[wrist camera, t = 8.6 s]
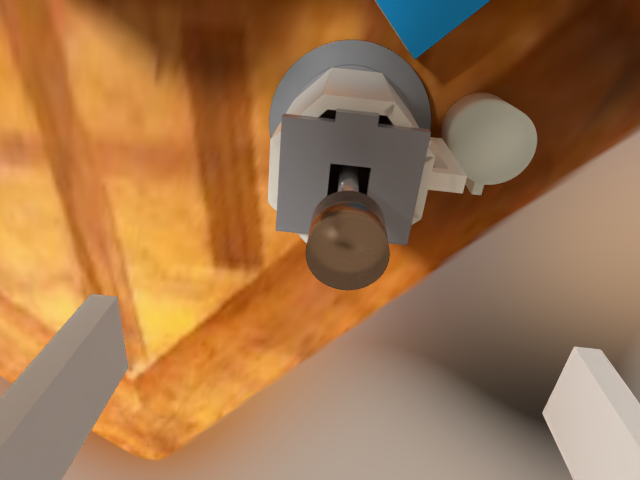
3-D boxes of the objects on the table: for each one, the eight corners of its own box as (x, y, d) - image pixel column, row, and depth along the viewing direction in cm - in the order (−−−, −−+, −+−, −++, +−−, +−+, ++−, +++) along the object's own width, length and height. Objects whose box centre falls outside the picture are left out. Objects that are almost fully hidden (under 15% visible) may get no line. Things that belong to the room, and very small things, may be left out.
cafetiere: (293, 57, 37) (265, 84, 24) (448, 74, 36) (497, 109, 24) (286, 178, 41) (259, 250, 29) (423, 193, 41) (453, 272, 29)
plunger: (327, 122, 32) (309, 212, 18) (376, 128, 32) (396, 222, 18) (322, 170, 34) (302, 285, 20) (369, 175, 34) (382, 294, 20)
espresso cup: (449, 88, 38) (465, 102, 32) (520, 96, 38) (548, 111, 32) (431, 171, 41) (443, 196, 36) (496, 179, 41) (517, 205, 36)
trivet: (274, 30, 36) (272, 31, 36) (445, 49, 36) (447, 49, 36) (267, 190, 43) (266, 194, 42) (413, 206, 43) (414, 210, 42)
